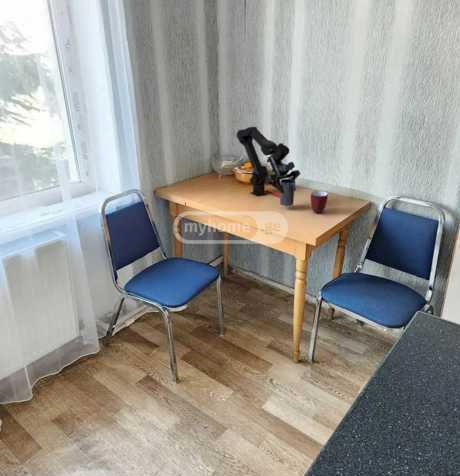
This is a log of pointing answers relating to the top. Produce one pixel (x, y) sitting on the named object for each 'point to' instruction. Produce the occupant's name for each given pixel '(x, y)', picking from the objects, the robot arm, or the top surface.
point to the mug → (318, 201)
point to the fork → (273, 193)
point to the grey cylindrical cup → (287, 192)
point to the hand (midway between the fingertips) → (289, 192)
